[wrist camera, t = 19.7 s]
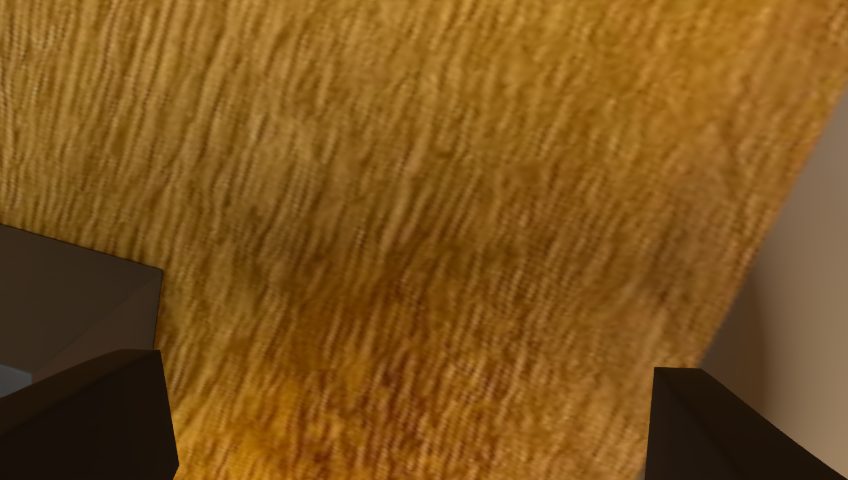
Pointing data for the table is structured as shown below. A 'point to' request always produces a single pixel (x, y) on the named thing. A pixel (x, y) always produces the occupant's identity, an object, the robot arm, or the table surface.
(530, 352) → the table surface
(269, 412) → the table surface
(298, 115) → the table surface
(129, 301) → the cube
